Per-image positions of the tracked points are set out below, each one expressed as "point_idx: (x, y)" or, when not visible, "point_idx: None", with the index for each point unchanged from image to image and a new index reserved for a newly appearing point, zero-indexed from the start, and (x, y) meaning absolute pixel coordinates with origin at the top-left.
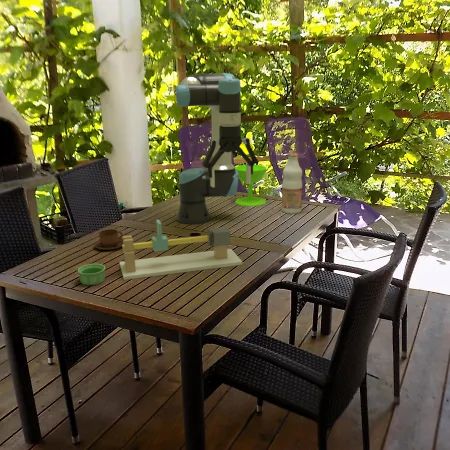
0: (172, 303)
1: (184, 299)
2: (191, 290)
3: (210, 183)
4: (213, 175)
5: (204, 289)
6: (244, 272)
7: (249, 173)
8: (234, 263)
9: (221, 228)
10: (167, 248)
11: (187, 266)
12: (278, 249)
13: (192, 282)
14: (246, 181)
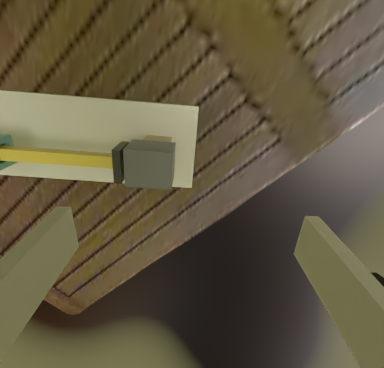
0: None
1: (68, 262)
2: (81, 243)
3: (47, 216)
4: (24, 313)
5: (101, 246)
6: (181, 215)
7: (335, 314)
8: (175, 186)
9: (156, 158)
10: (13, 163)
11: (80, 171)
12: (303, 137)
13: (86, 220)
14: (307, 225)
